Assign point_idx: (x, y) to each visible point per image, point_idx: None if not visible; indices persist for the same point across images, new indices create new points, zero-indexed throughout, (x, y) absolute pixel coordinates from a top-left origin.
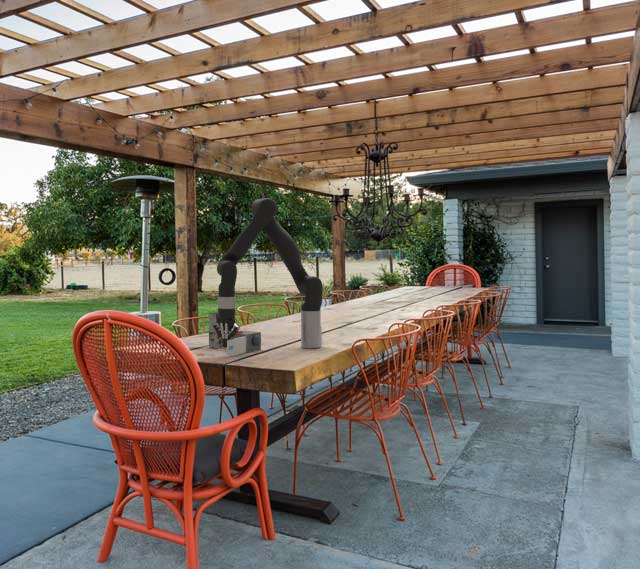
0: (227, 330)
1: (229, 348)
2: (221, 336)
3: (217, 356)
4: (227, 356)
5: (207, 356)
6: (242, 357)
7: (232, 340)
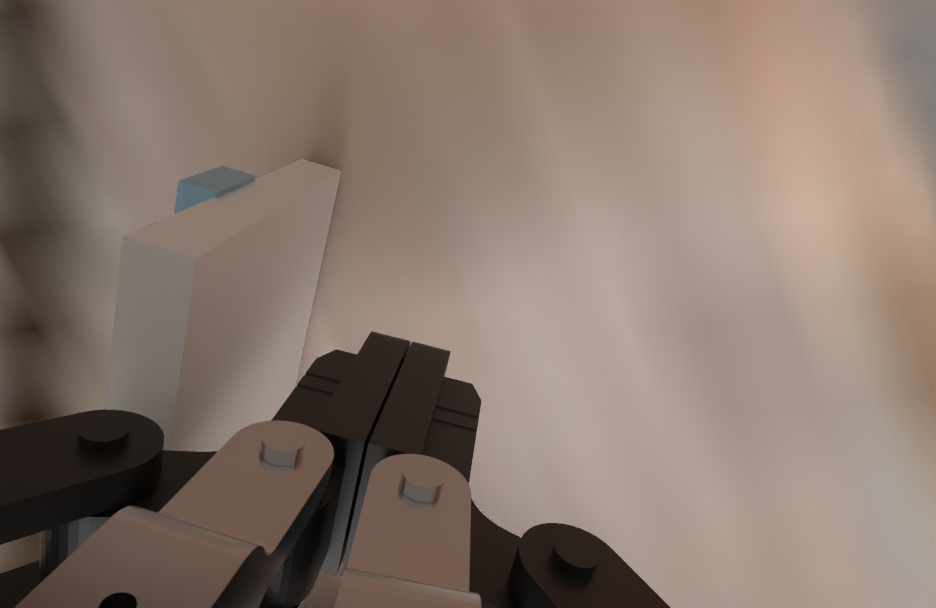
0: (17, 606)
1: (213, 173)
2: (514, 556)
3: (571, 231)
4: (337, 171)
5: (773, 199)
6: (76, 211)
7: (121, 405)
